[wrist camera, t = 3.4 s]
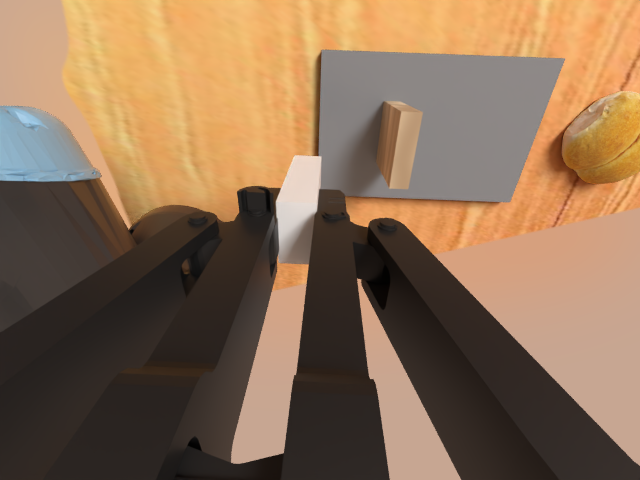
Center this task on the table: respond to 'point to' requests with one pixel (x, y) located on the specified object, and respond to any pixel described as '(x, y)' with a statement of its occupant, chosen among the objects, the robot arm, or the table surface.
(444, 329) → the robot arm
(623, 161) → the bread roll
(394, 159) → the light wood flat block
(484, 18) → the table surface
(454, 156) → the slate board
